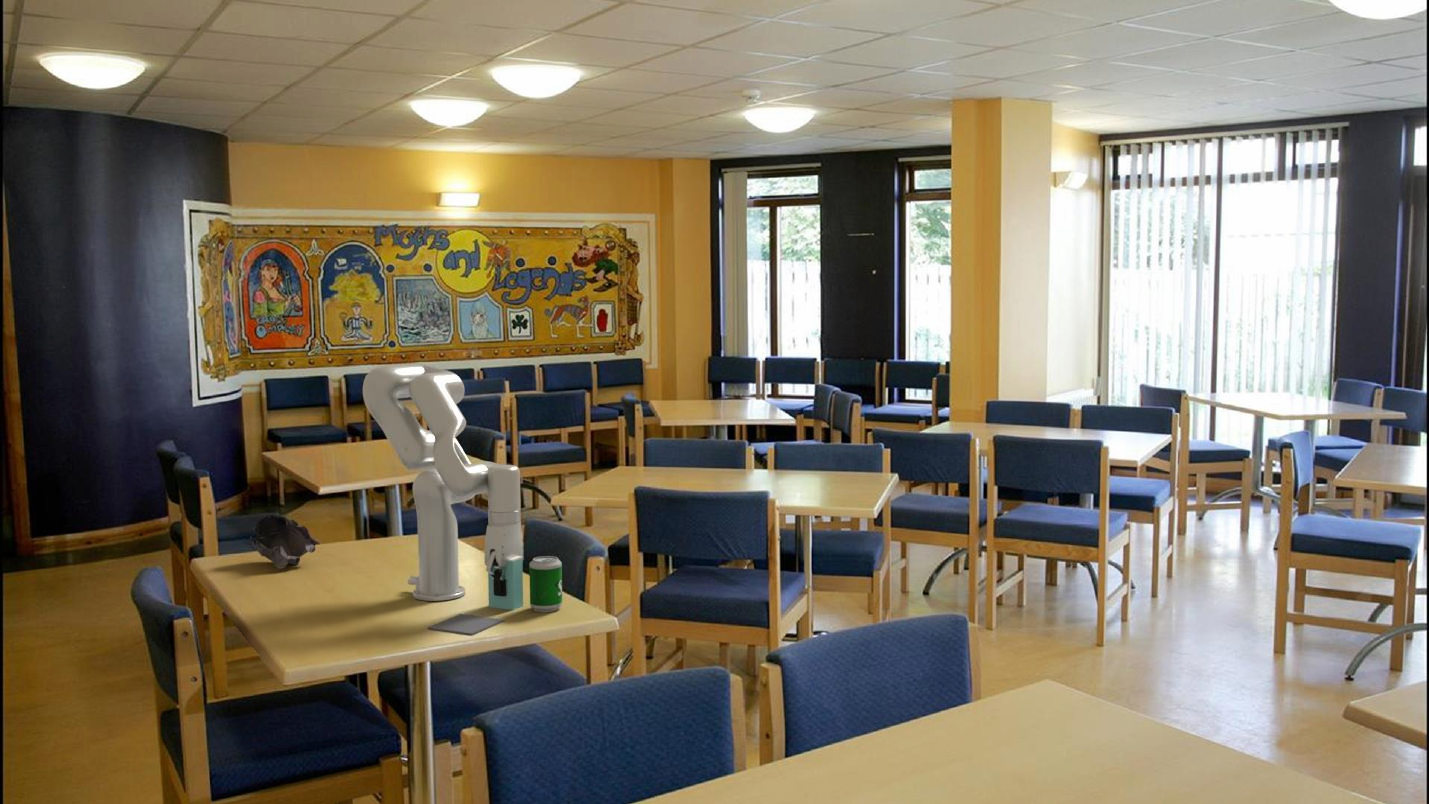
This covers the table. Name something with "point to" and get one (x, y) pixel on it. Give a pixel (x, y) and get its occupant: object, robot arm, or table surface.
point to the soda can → (545, 583)
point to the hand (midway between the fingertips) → (505, 592)
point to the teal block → (509, 586)
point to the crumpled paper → (281, 540)
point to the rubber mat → (466, 624)
